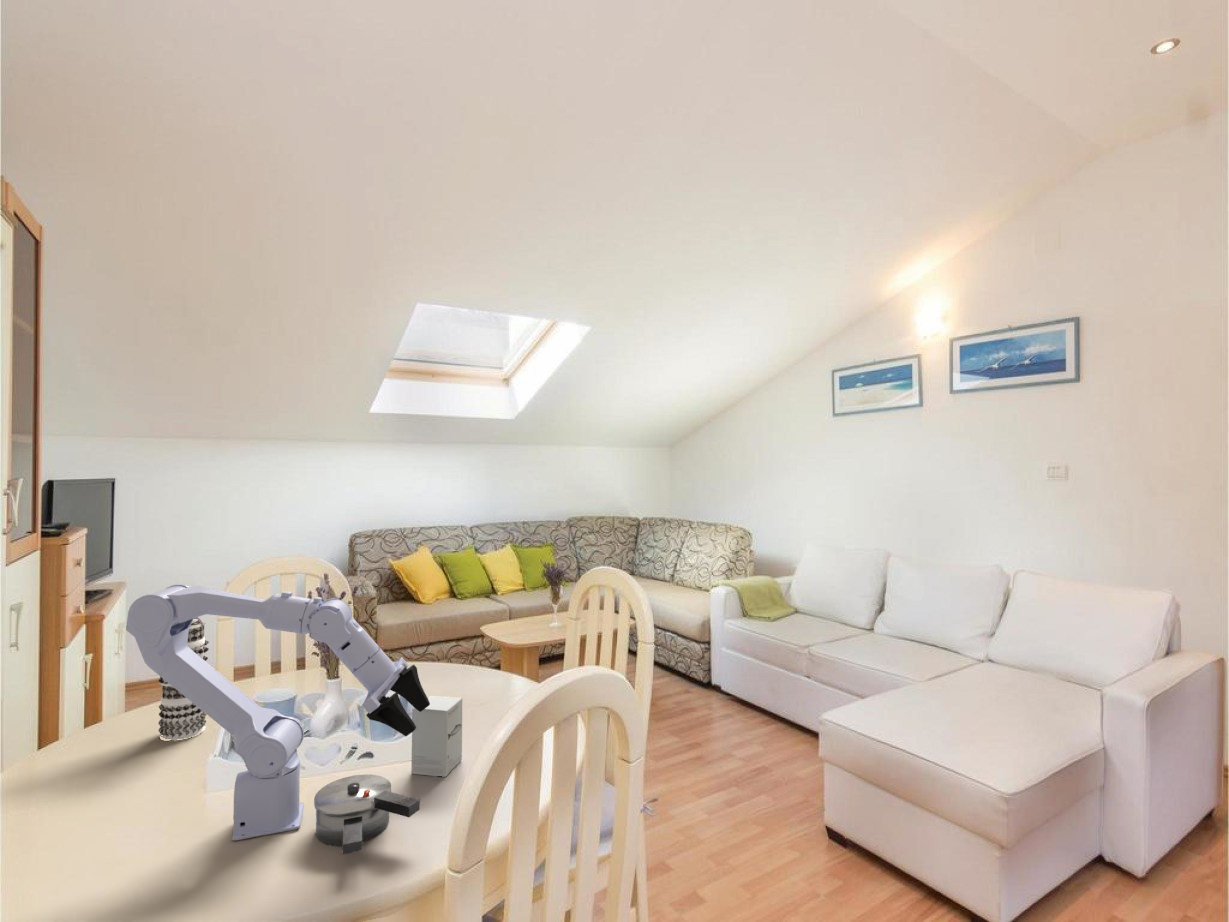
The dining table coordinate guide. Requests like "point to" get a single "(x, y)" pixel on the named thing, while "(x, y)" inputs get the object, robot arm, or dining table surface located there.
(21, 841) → the dining table surface
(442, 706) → the supplement box
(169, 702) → the decorative candle
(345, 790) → the lid
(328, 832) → the pot
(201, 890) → the dining table surface
